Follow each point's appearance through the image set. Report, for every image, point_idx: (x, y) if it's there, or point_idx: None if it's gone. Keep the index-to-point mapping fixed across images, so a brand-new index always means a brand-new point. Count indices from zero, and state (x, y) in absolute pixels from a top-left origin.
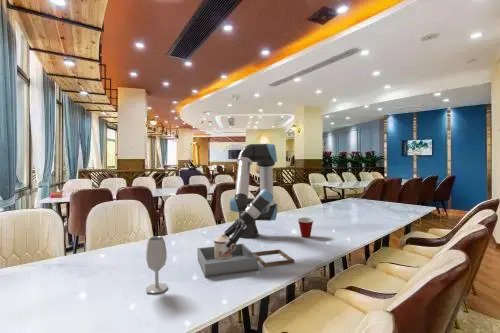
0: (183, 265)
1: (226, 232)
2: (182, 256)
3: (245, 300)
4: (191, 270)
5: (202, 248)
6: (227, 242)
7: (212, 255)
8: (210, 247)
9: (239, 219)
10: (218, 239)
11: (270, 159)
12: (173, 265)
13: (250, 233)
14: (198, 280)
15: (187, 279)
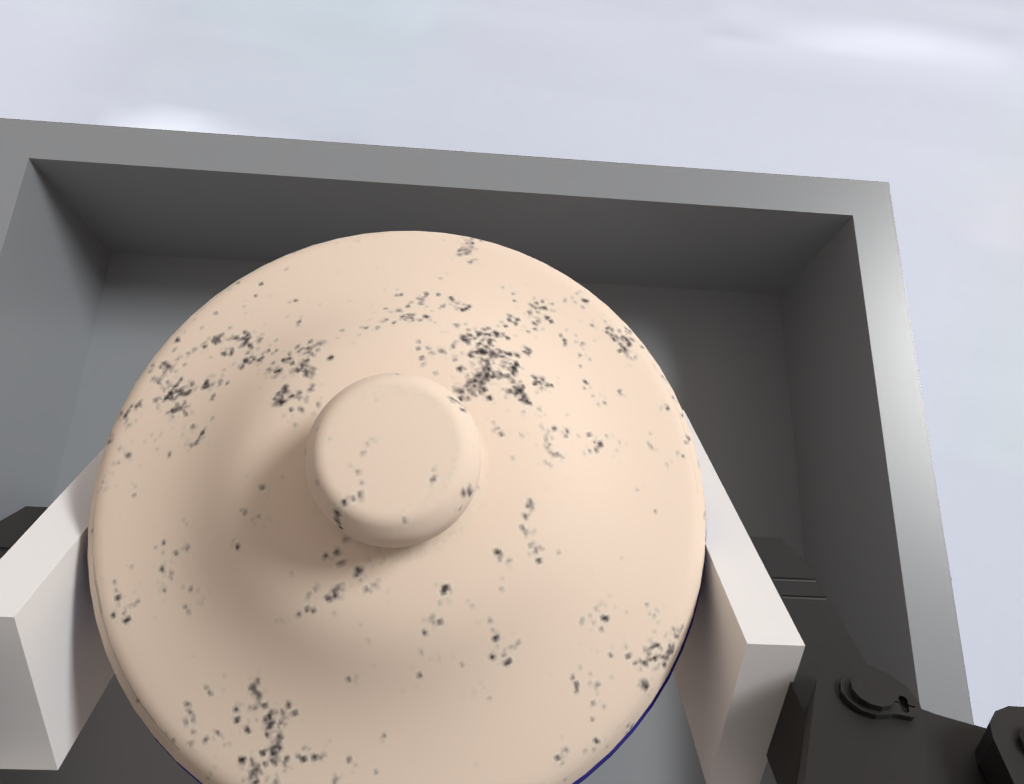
0: (620, 93)
1: (865, 763)
2: (965, 134)
3: None
4: (412, 142)
5: (856, 257)
6: (22, 555)
7: (805, 476)
8: (877, 401)
9: None
10: (309, 305)
11: None
12: (659, 4)
13: None
14: None
15: (156, 60)
